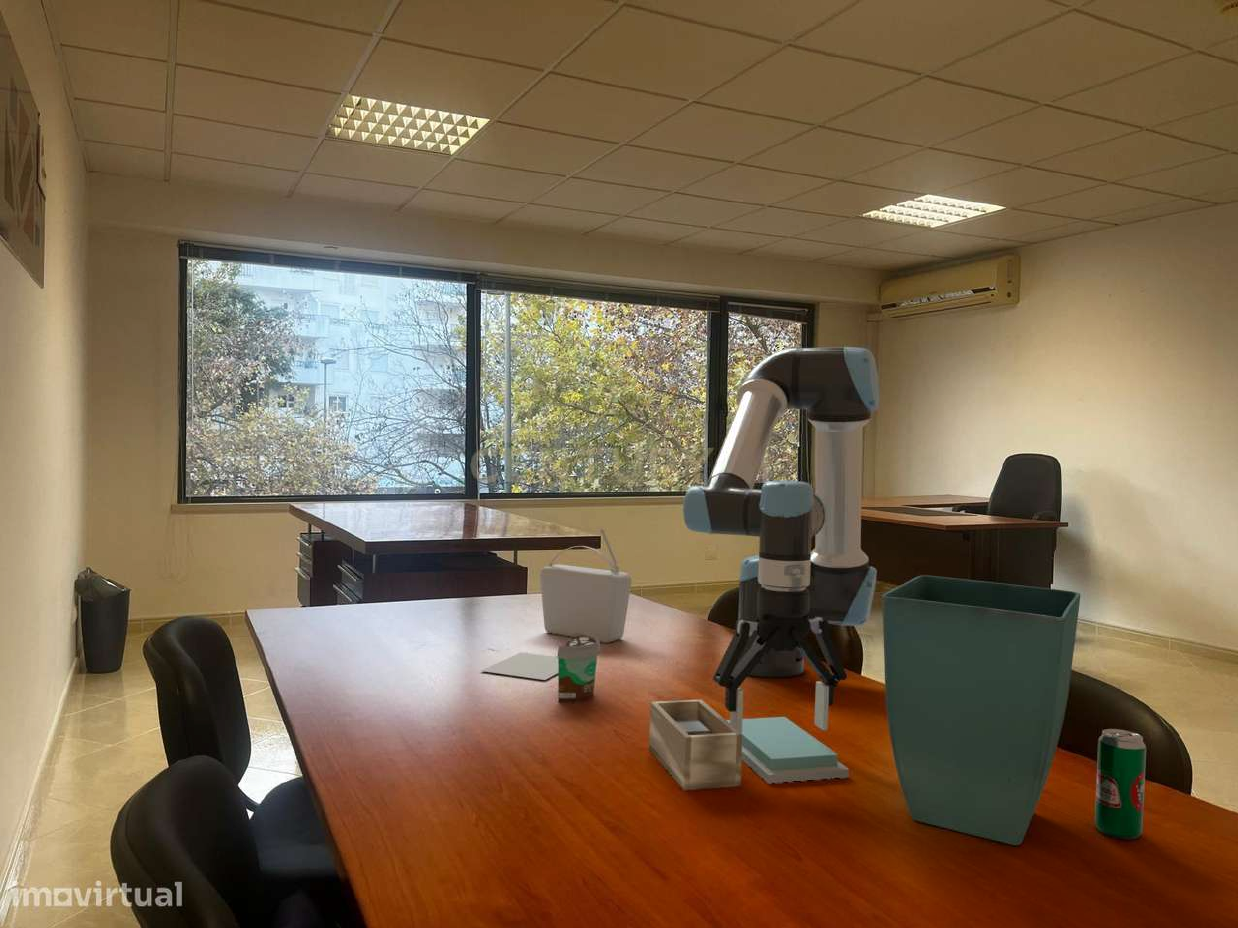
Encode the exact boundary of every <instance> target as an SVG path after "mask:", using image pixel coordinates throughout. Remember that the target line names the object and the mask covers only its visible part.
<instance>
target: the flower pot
mask: <svg viewBox="0 0 1238 928" xmlns="http://www.w3.org/2000/svg"><path fill="white" fill-rule="evenodd" d="M1080 604H1081V593H1080V592H1078V591H1071V590H1065V589H1056V588H1048V587H1038V586H1028V585H1022V584H1021V585H1020V584H1010V583H1002V582H993V581H983V580H974V579H973V580H972V579H964V578H953V577H948V576H946V577H945V576H936V575H918V576H916V577H914V578H912V579H910V580H908V581H906V582H904V583H903V584H900V585H899V586H896V587H895V588H893V589H891V590H888V591H887V592H885V593H883V594H882V595H881V606H882V607H881V610H882V630H883V634H882V635H883V657H884V660H883V661H884V689H885V708H886V717H887V725H888V732H889V738H890V744H891V748H892V755H893V760H894V764H895V765H894V766H895V768H896V773H897V776H898V779H899V780H898V781H899V784H900V788H901V791H902V794H903V797H904V799H905V803H906V805H907V808H908V809H907V810H908V812H909V814H910V817H911V818H912V820H913V821H916V822H920V823H924V824H926V825H932V826H936V827H939V828H943V829H946V830H947V829H948V830H951V831H955V832H959V833H963V834H967V835H971V836H975V837H978V838H979V837H980V838H982V839H987V840H992V841H995V842H999V843H1004V844H1007V845H1010V846H1019V845H1021V844H1022V843H1023V840H1024V838H1025V836H1026V833H1027V830H1028V828H1029V826H1030V822H1031V821H1032V818H1033V815H1034V814H1035V811H1036V808H1037V805H1038V803H1039V801H1040V798H1041V795H1042V792H1043V790H1044V788H1045V785H1046V781H1047V779H1048V776H1049V773H1050V770H1051V767H1052V765H1053V761H1054V758H1055V754H1056V751H1057V748H1058V744H1059V741H1060V740H1059V739H1060V736H1061V731H1062V727H1063V725H1064V719H1065V715H1066V710H1067V709H1066V708H1067V704H1068V703H1067V702H1068V698H1069V692H1070V691H1069V690H1070V683H1071V676H1072V667H1073V660H1074V651H1075V644H1076V642H1075V641H1076V634H1077V626H1078V619H1079V611H1080Z"/></svg>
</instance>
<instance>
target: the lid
mask: <svg viewBox="0 0 1238 928" xmlns="http://www.w3.org/2000/svg"><path fill="white" fill-rule="evenodd" d="M725 720H726V721H727V722H729V723H730V719H725ZM742 746H743V747H745V748H746V749H747V750H748V751H749V752H750V753H751V754H753V755H754V756H755V757H756V758H757V759H758V760H759V761H761V762H762V763H763V764H764V765H765V766H766V767H767V768H769V769H770V770H771V771H773V770H787V769H801V768H815V767H829V766H837V761H838V758H839V757H838V755H839V754H838V753H836V752H835V751H834V750H832V749H831V748H829V747H828V746H827V745H825V744H823V743H822V742H821V741H819V740H818V739H817V738H815V737H814V736H813V735H811V734H809V733H808V732H807V731H806V730H804V729H803V728H801V727H800V726H799V725H797V724H796V723H795V722H793V721H792V720H790V719H789V718H787V717H786V716H777V717H776V716H775V717H774V716H773V717H758V718H757V717H756V718H742Z"/></svg>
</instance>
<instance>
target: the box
mask: <svg viewBox="0 0 1238 928" xmlns="http://www.w3.org/2000/svg"><path fill="white" fill-rule="evenodd" d="M649 705H650V706H649V735H648V737H649V738H648V749H649V750H650V752H651V753H652V754H653V755H654V756H655V758H656V759H657V761H659V763H660V764H661V765H662V766H663V767H664V768H665V769H667V770H668V771H669V772H668V771H667V772H668V774H670V776H671V775H672V776H671V777H672V778H673V779H674V780H675V782H676V783H677V784H678V785H679V786H680V788H681V789H682V790H683V791H692V790H694V791H695V790H706V789H707V790H709V789H718V788H734V787H735V788H736V787H741V786H742V762H743V760H742V733H740V732H739V731H738V730H737V729H736V728H734V727H733V726H732V725H731V724H730V723H729V722H727V721H726V720H727V719H725V718H724V717H723V716H722V715H720V714H719V713H718V712H717V711H715V709H713V708H712V707H711V706H710V705H709V704H707V702H705V701H704V700H702V699H701V698H700V699H686V700H685V699H682V700H679V699H678V700H664V701H663V700H659V701H650V703H649Z"/></svg>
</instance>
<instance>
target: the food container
mask: <svg viewBox="0 0 1238 928" xmlns="http://www.w3.org/2000/svg"><path fill="white" fill-rule="evenodd" d="M601 649H602V647H601V642H599V641H598V638H597V637H595V636H593V635H589V634H585V633H576V632H575V637H573V639H571V640H569V641H567V642H566V643H565V645H558V650H557V656H556V657H557V658H558V673H557V674H558V675H557V676H558V686H557V687H558V697H557V698H558V703H578V702H577V701H581V702H584V700H585V701H588V699H589V698H591V697H592V698H593V697H594V692H595V691H594V690H595V682H596V681H595V680H596V670H597V660H598V655H600V654H601V653H602V650H601ZM592 698H591V699H592ZM589 700H590V699H589Z"/></svg>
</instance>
